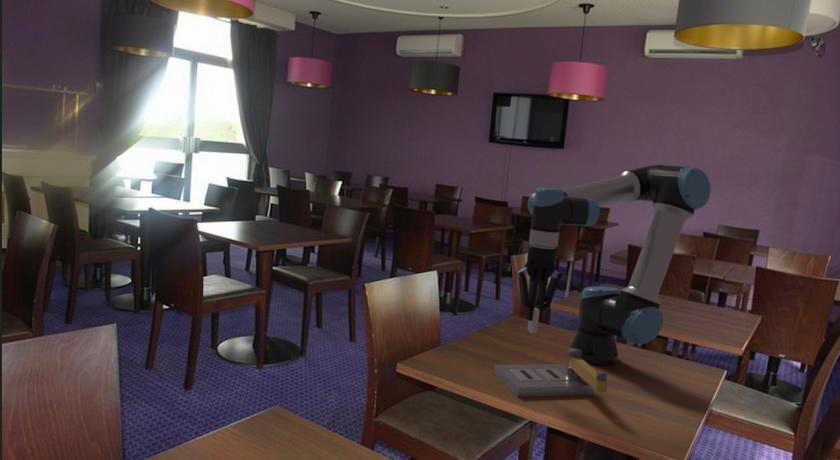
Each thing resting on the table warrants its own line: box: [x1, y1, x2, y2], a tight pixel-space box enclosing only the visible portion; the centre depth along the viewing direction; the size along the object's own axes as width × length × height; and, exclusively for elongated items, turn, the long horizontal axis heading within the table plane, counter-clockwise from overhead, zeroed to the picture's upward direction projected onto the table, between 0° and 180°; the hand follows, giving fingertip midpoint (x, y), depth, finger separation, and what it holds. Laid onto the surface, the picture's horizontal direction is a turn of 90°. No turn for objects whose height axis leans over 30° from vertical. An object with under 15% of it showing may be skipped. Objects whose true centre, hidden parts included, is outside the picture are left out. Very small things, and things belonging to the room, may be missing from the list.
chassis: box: [493, 363, 594, 398], centre depth 165 cm, size 22×16×5 cm
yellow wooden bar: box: [567, 348, 608, 393], centre depth 159 cm, size 20×4×5 cm, turn 8°
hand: (532, 332), depth 162 cm, fingers closed
